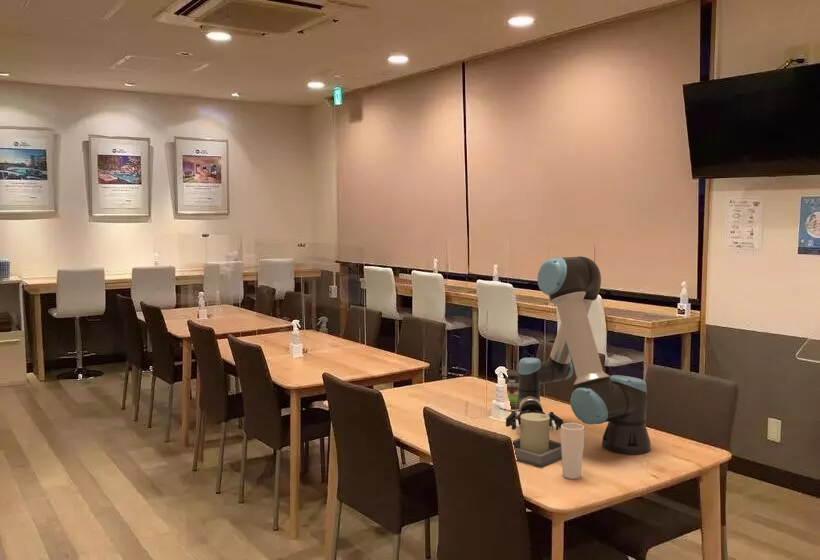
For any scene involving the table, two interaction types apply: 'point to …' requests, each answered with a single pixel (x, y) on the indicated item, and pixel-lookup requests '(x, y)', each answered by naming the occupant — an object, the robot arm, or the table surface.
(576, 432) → the drinking glass
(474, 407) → the table surface
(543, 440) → the can
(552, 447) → the tray
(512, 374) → the coffee can
